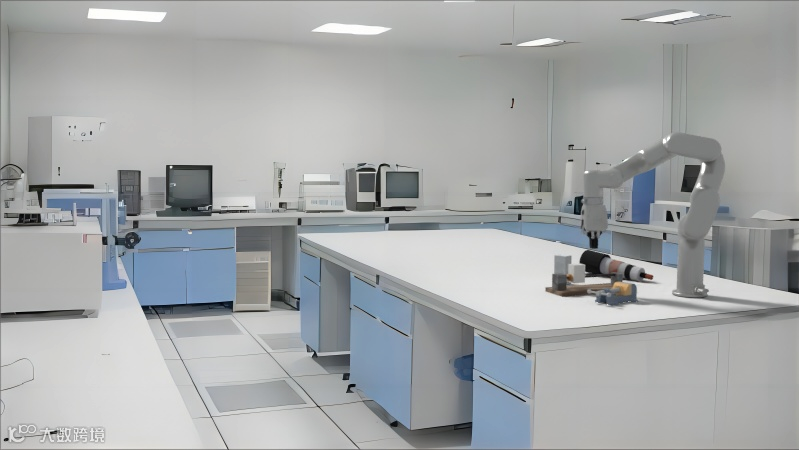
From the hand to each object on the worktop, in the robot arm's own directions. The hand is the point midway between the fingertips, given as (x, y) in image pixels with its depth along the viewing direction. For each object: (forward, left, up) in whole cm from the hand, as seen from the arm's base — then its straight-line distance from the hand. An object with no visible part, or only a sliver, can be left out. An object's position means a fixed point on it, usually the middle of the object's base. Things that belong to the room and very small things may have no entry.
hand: (593, 248), depth 304 cm
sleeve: (0, +7, -13) cm, 15 cm away
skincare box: (+19, +2, -17) cm, 26 cm away
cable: (+24, -29, -17) cm, 42 cm away
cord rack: (0, +3, -17) cm, 17 cm away
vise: (-21, +6, -17) cm, 28 cm away
